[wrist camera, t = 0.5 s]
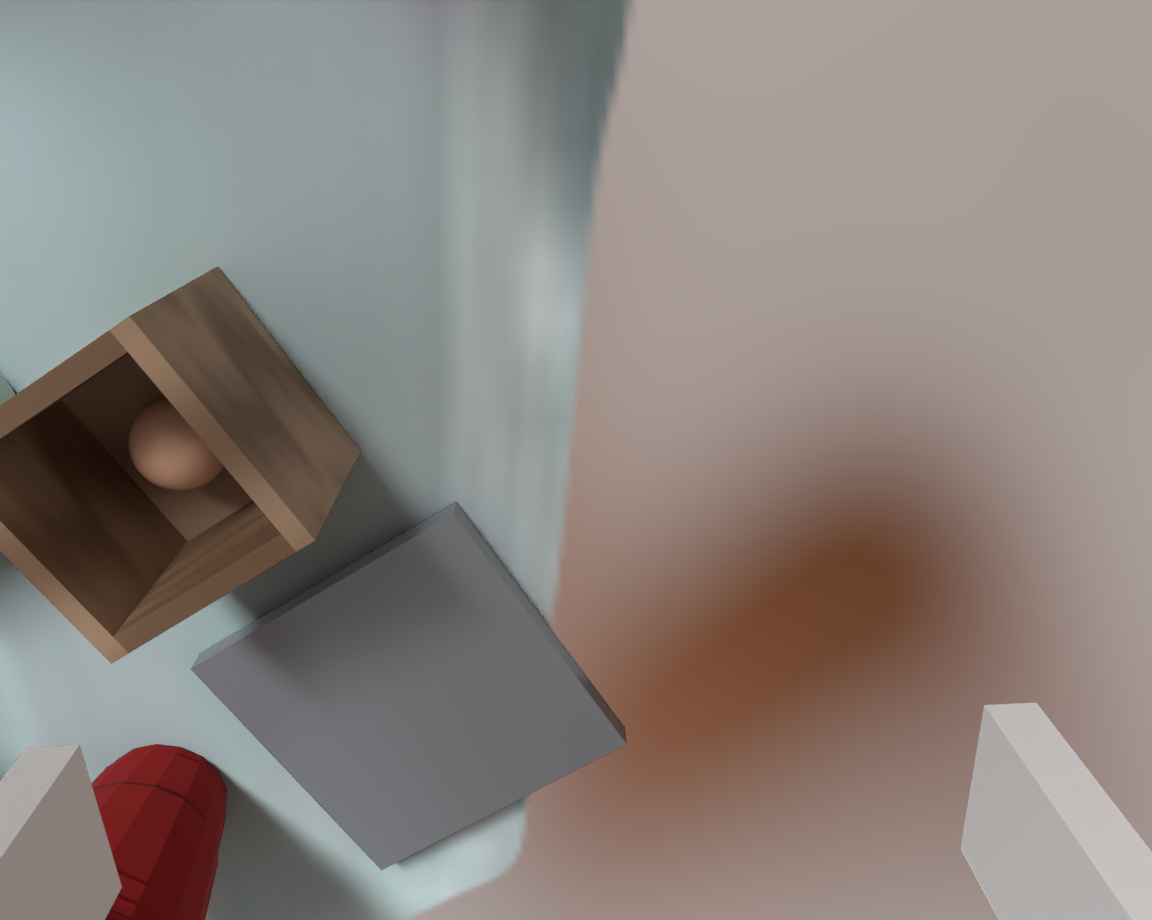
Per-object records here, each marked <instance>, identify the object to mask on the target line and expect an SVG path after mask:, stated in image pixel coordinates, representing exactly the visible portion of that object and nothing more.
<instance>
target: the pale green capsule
mask: <svg viewBox="0 0 1152 920" xmlns="http://www.w3.org/2000/svg"><path fill="white" fill-rule="evenodd" d="M13 396H15V393H14V391H13V389H12V388H11V386H10V385H9V383H8V382H7V381H6V379H5V378H4V377H3V376H2V375H1V374H0V405H2V404H3V403H5V402H6V401H8V400H9V399H11V398H12V397H13Z"/></svg>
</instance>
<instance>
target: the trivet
mask: <svg viewBox="0 0 1152 920" xmlns="http://www.w3.org/2000/svg"><path fill="white" fill-rule="evenodd" d="M191 670H192V671H193V672H194V673H195V674H196V675H197V676H198V677H199V678H200V679H201V680H202V681H203V682H204V684H205V685H206V686H207V687H208V688H209V689H210V690H211V691H212V692H213V693H214V694H215V695H216V696H217V697H218V698H219V699H220V700H221V701H222V703H223V704H224V705H225V706H226V707H227V708H228V709H229V710H230V711H231V712H232V713H233V714H234V715H235V716H236V717H237V718H238V719H239V720H240V722H241V723H242V724H243V725H244V726H245V727H246V728H247V729H248V730H249V731H250V732H251V733H252V734H253V735H254V736H255V737H256V738H257V739H258V741H259V742H260V743H261V744H262V745H263V746H264V747H265V748H266V749H267V750H268V751H269V752H270V753H271V754H272V755H273V756H274V757H275V758H276V760H277V761H278V762H279V763H280V764H281V765H282V766H283V767H284V768H285V769H286V770H287V771H288V772H289V773H290V774H291V775H292V776H293V777H294V778H295V780H296V781H297V782H298V783H299V784H300V785H301V786H302V787H303V788H304V789H305V790H306V791H307V792H308V793H309V794H310V795H311V796H312V797H313V799H314V800H315V801H316V802H317V803H318V804H319V805H320V806H321V807H322V808H323V809H324V810H325V811H326V812H327V813H328V814H329V815H330V816H331V818H332V819H333V820H334V821H335V822H336V823H337V824H338V825H339V826H340V827H341V828H342V829H343V830H344V831H345V832H346V833H347V834H348V835H349V837H350V838H351V839H352V840H353V841H354V842H355V843H356V844H357V845H358V846H359V847H360V848H361V849H362V850H363V851H364V852H365V853H366V854H367V856H368V857H369V858H370V859H371V860H372V861H373V862H374V863H375V864H376V865H377V866H378V867H379V868H380V869H381V870H383V869H385V868H387V867H389V866H391V865H393V864H395V863H397V862H398V861H400V860H402V859H404V858H406V857H408V856H410V855H412V854H414V853H416V852H418V851H420V850H422V849H424V848H426V847H428V846H430V845H432V844H433V843H435V842H437V841H439V840H441V839H443V838H445V837H447V836H449V835H451V834H453V833H455V832H457V831H459V830H461V829H463V828H465V827H467V826H468V825H470V824H472V823H474V822H476V821H478V820H480V819H482V818H484V817H486V816H488V815H490V814H492V813H494V812H496V811H498V810H500V809H502V808H503V807H505V806H507V805H509V804H511V803H513V802H515V801H517V800H519V799H521V798H523V797H525V796H527V795H529V794H531V793H533V792H534V791H536V790H538V789H540V788H542V787H544V786H546V785H548V784H550V783H552V782H554V781H556V780H558V779H560V778H562V777H564V776H566V775H567V774H570V773H571V772H573V771H575V770H577V769H579V768H581V767H583V766H585V765H587V764H589V763H591V762H593V761H595V760H597V759H599V758H601V757H603V756H605V755H607V754H608V753H610V752H612V751H614V750H616V749H618V748H620V747H622V746H624V745H626V734H625V727H624V726H623V724H622V723H621V722H620V720H619V719H618V718H617V716H616V715H615V714H614V712H613V711H612V710H611V708H610V707H609V706H608V704H607V703H606V702H605V700H604V699H603V698H602V696H601V695H600V694H599V692H598V691H597V690H596V688H595V687H594V686H593V684H592V683H591V682H590V680H589V679H588V678H587V676H586V675H585V674H584V672H583V671H582V670H581V668H580V667H579V665H578V664H577V663H576V661H575V660H574V659H573V657H572V656H571V655H570V654H569V652H568V651H567V650H566V648H565V647H564V645H563V644H562V643H561V642H560V640H559V639H558V638H557V636H556V635H555V633H554V632H553V631H552V629H551V628H550V627H549V625H548V624H547V623H546V621H545V620H544V619H543V617H542V616H541V615H540V613H539V612H538V611H537V609H536V608H535V607H534V605H533V604H532V603H531V601H530V600H529V599H528V597H527V596H526V595H525V593H524V592H523V591H522V589H521V588H520V587H519V585H518V584H517V583H516V581H515V580H514V579H513V577H512V576H511V575H510V573H509V572H508V571H507V569H506V568H505V567H504V565H503V564H502V563H501V561H500V560H499V559H498V557H497V556H496V555H495V553H494V552H493V551H492V549H491V548H490V546H489V545H488V544H487V542H486V541H485V540H484V538H483V537H482V536H481V534H480V533H479V532H478V530H477V529H476V528H475V526H474V525H473V524H472V522H471V521H470V520H469V518H468V517H467V516H466V514H465V513H464V512H463V510H462V509H461V508H460V506H459V505H458V504H457V502H455V503H453V504H451V505H450V506H448V507H446V508H445V509H443V510H441V511H440V512H438V513H436V514H434V515H433V516H431V517H429V518H428V519H426V520H424V521H423V522H421V523H419V524H418V525H416V526H414V527H413V528H411V529H409V530H407V531H406V532H404V533H402V534H401V535H399V536H397V537H396V538H394V539H392V540H391V541H389V542H387V543H386V544H384V545H382V546H380V547H379V548H377V549H375V550H374V551H372V552H370V553H369V554H367V555H365V556H364V557H362V558H360V559H359V560H357V561H355V562H353V563H352V564H350V565H348V566H347V567H345V568H343V569H342V570H340V571H338V572H337V573H335V574H333V575H332V576H330V577H328V578H326V579H325V580H323V581H321V582H320V583H318V584H316V585H315V586H313V587H311V588H310V589H308V590H306V591H305V592H303V593H301V594H299V595H298V596H296V597H294V598H293V599H291V600H289V601H288V602H286V603H284V604H283V605H281V606H279V607H278V608H276V609H274V610H273V611H271V612H269V613H267V614H266V615H264V616H262V617H261V618H259V619H257V620H256V621H254V622H252V623H251V624H249V625H247V626H246V627H244V628H242V629H240V630H239V631H237V632H235V633H234V634H232V635H230V636H229V637H227V638H225V639H224V640H222V641H220V642H219V643H217V644H215V645H213V646H212V647H210V648H208V649H207V650H205V651H203V652H202V653H200V655H199V656H198V658H197V659H196V661H195V663H194V664H193V666H192V668H191Z"/></svg>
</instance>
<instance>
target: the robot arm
mask: <svg viewBox="0 0 1152 920" xmlns="http://www.w3.org/2000/svg"><path fill="white" fill-rule="evenodd" d="M960 849H961V851H962V853H963V855H964V857H965V859H966V861H967V862H968V864H969V866H970V868H971V870H972V872H973V874H974V876H975V878H976V879H977V881H978V883H979V885H980V887H981V889H982V891H983V893H984V894H985V896H986V898H987V900H988V902H989V904H990V906H991V908H992V909H993V911H994V913H995V915H996V917H997V919H998V920H1152V852H1151V851H1150V849H1149V848H1148V847H1147V845H1146V844H1145V843H1144V841H1143V840H1142V839H1141V838H1140V836H1139V835H1138V834H1137V832H1136V831H1135V830H1134V828H1133V827H1132V826H1131V825H1130V823H1129V822H1128V821H1127V819H1126V818H1125V817H1124V816H1123V814H1122V813H1121V812H1120V811H1119V809H1118V808H1117V807H1116V805H1115V804H1114V803H1113V801H1112V800H1111V799H1110V797H1109V796H1108V795H1107V794H1106V792H1105V791H1104V790H1103V789H1102V787H1101V786H1100V785H1099V783H1098V782H1097V781H1096V779H1095V778H1094V777H1093V775H1092V774H1091V773H1090V772H1089V770H1088V769H1087V768H1086V766H1085V765H1084V764H1083V763H1082V761H1081V760H1080V759H1079V757H1078V756H1077V755H1076V753H1075V752H1074V751H1073V750H1072V748H1071V747H1070V746H1069V745H1068V743H1067V742H1066V741H1065V739H1064V738H1063V737H1062V735H1061V734H1060V733H1059V731H1058V730H1057V729H1056V728H1055V726H1054V725H1053V724H1052V722H1051V721H1050V720H1049V719H1048V717H1047V716H1046V715H1045V713H1044V712H1043V711H1042V710H1041V708H1040V707H1039V706H1038V704H1037V703H1019V704H998V705H997V704H996V705H984V709H983V715H982V722H981V727H980V733H979V739H978V745H977V751H976V757H975V763H974V769H973V776H972V781H971V787H970V793H969V799H968V806H967V811H966V817H965V823H964V829H963V835H962V841H961V847H960ZM121 888H122V886H121V882H120V879H119V875H118V872H117V869H116V865H115V862H114V859H113V855H112V852H111V848H110V845H109V842H108V838H107V835H106V832H105V828H104V825H103V822H102V818H101V815H100V811H99V808H98V805H97V801H96V798H95V795H94V791H93V788H92V784H91V781H90V778H89V774H88V771H87V768H86V764H85V761H84V758H83V754H82V751H81V747H80V745H63V746H40V747H26V748H25V749H24V751H23V752H22V753H21V755H20V756H19V757H18V758H17V760H16V761H15V762H14V764H13V765H12V766H11V767H10V769H9V770H8V771H7V773H6V774H5V775H4V777H3V778H2V779H1V780H0V920H105V919H106V917H107V915H108V913H109V911H110V909H111V907H112V905H113V903H114V901H115V900H116V898H117V896H118V894H119V892H120V890H121Z"/></svg>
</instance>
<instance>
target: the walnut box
mask: <svg viewBox="0 0 1152 920" xmlns="http://www.w3.org/2000/svg"><path fill="white" fill-rule="evenodd" d="M162 398H167V399H168V400H169V401H170V403H171V404H172V405H173V406H174V407H175V409H176V410H177V411H178V412H179V413H180V414H181V416H182V417H183V418H184V419H185V420H186V422H187V423H188V424H189V425H190V426H191V428H192V429H193V430H194V431H195V432H196V433H197V435H198V436H199V437H200V438H201V439H202V441H203V442H204V443H205V444H206V445H207V447H208V448H209V449H210V450H211V451H212V452H213V454H214V455H215V456H216V457H217V458H218V460H219V461H220V462H221V463H222V464H223V465H224V468H223V470H222V471H221V472H220V473H219V474H218V475H217V476H216V477H215V478H214V479H213V480H211V481H210V482H208V483H207V484H205V485H203V486H201V487H198V488H194V489H190V490H170V489H165V488H162V487H159V486H157V485H155V484H153V483H151V482H150V481H148V480H147V479H146V478H145V477H143V476H142V475H141V474H140V472H139V471H138V470H137V469H136V467H135V465H134V464H133V462H132V459H131V457H130V453H129V447H128V439H129V432H130V429H131V426H132V424H133V422H134V420H135V419H136V417H137V416H138V415H139V413H140V412H141V411H142V410H143V409H144V408H146V407H147V406H148V405H150V404H151V403H153V402H155V401H157V400H160V399H162ZM360 452H361V451H360V450H359V448H358V447H357V446H356V445H355V443H354V442H353V441H352V439H351V438H350V437H349V436H348V434H347V433H346V432H345V430H344V429H343V428H342V426H341V425H340V424H339V423H338V421H337V420H336V419H335V417H334V416H333V415H332V414H331V412H330V411H329V410H328V408H327V407H326V406H325V405H324V403H323V402H322V401H321V399H320V398H319V397H318V396H317V394H316V393H315V392H314V390H313V389H312V388H311V386H310V385H309V384H308V383H307V381H306V380H305V379H304V377H303V376H302V375H301V374H300V372H299V371H298V370H297V368H296V367H295V366H294V365H293V363H292V362H291V361H290V359H289V358H288V357H287V355H286V354H285V353H284V352H283V350H282V349H281V348H280V346H279V345H278V344H277V343H276V341H275V340H274V339H273V337H272V336H271V335H270V334H269V332H268V331H267V330H266V328H265V327H264V326H263V324H262V323H261V322H260V321H259V319H258V318H257V317H256V315H255V314H254V313H253V312H252V310H251V309H250V308H249V306H248V305H247V304H246V303H245V301H244V300H243V299H242V297H241V296H240V295H239V294H238V292H237V291H236V290H235V288H234V287H233V286H232V284H231V283H230V282H229V281H228V279H227V278H226V277H225V275H224V274H223V273H222V272H221V270H220V269H219V268H218V267H216V268H214V269H212V270H211V271H209V272H207V273H205V274H203V275H202V276H200V277H198V278H196V279H195V280H193V281H191V282H189V283H188V284H186V285H184V286H182V287H181V288H179V289H177V290H175V291H173V292H172V293H170V294H168V295H166V296H165V297H163V298H161V299H159V300H158V301H156V302H154V303H152V304H150V305H149V306H147V307H145V308H143V309H142V310H140V311H138V312H136V313H135V314H133V315H131V316H129V317H128V318H126V319H125V320H124V321H122V322H121V323H119V324H118V325H116V326H115V327H113V328H112V329H110V330H109V331H108V332H106V333H105V334H103V335H102V336H100V337H99V338H97V339H96V340H95V341H93V342H92V343H90V344H89V345H87V346H86V347H84V348H83V349H82V350H80V351H79V352H77V353H76V354H74V355H73V356H71V357H70V358H68V359H67V360H66V361H64V362H63V363H61V364H60V365H58V366H57V367H55V368H54V369H53V370H51V371H50V372H48V373H47V374H45V375H44V376H42V377H41V378H39V379H38V380H37V381H35V382H34V383H32V384H31V385H29V386H28V387H26V388H25V389H24V390H22V391H21V392H19V393H18V394H16V395H15V396H13V397H12V398H11V399H9V400H8V401H6V402H5V403H3V404H2V405H0V551H1V552H2V553H3V554H4V555H5V556H6V557H7V558H8V559H9V560H10V561H11V562H12V563H13V564H14V565H15V566H16V567H17V569H18V570H19V571H20V572H21V573H22V574H23V575H24V576H25V577H26V578H27V579H28V580H29V581H30V582H31V583H32V584H33V585H34V586H35V587H36V588H37V589H38V590H39V591H40V592H41V593H42V594H43V595H44V596H45V597H46V598H47V599H48V600H49V601H50V602H51V603H52V604H53V605H54V606H55V607H56V608H57V609H58V610H59V611H60V612H61V613H62V614H63V615H64V616H65V617H66V618H67V619H68V620H69V621H70V622H71V623H72V624H73V625H74V626H75V627H76V628H77V629H78V630H79V631H80V632H81V633H82V634H83V635H84V636H85V637H86V639H87V640H88V641H89V642H90V643H91V644H92V645H93V646H94V647H95V648H96V649H97V650H98V651H99V652H100V653H101V654H102V655H103V656H104V657H105V658H106V659H107V660H108V661H109V662H110V663H111V664H112V663H113V662H115V661H117V660H118V659H120V658H122V657H123V656H125V655H126V654H128V653H130V652H131V651H133V650H135V649H136V648H138V647H140V646H141V645H143V644H145V643H146V642H148V641H150V640H151V639H153V638H155V637H156V636H158V635H160V634H161V633H163V632H165V631H166V630H168V629H170V628H171V627H173V626H175V625H176V624H178V623H179V622H181V621H183V620H184V619H186V618H188V617H189V616H191V615H193V614H194V613H196V612H198V611H199V610H201V609H203V608H204V607H206V606H208V605H209V604H211V603H213V602H214V601H216V600H218V599H219V598H221V597H223V596H224V595H226V594H228V593H229V592H231V591H232V590H234V589H236V588H237V587H239V586H241V585H242V584H244V583H246V582H247V581H249V580H251V579H252V578H254V577H256V576H257V575H259V574H261V573H262V572H264V571H266V570H267V569H269V568H271V567H272V566H274V565H276V564H277V563H279V562H281V561H282V560H284V559H285V558H287V557H289V556H290V555H292V554H294V553H295V552H297V551H299V550H300V549H302V548H304V547H305V546H307V545H309V544H310V543H312V542H314V541H315V540H316V538H317V536H318V534H319V532H320V530H321V528H322V527H323V525H324V523H325V521H326V519H327V517H328V515H329V513H330V511H331V509H332V507H333V505H334V503H335V501H336V499H337V497H338V495H339V493H340V491H341V489H342V487H343V485H344V483H345V481H346V479H347V477H348V476H349V474H350V472H351V470H352V468H353V466H354V464H355V462H356V460H357V458H358V456H359V454H360Z"/></svg>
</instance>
